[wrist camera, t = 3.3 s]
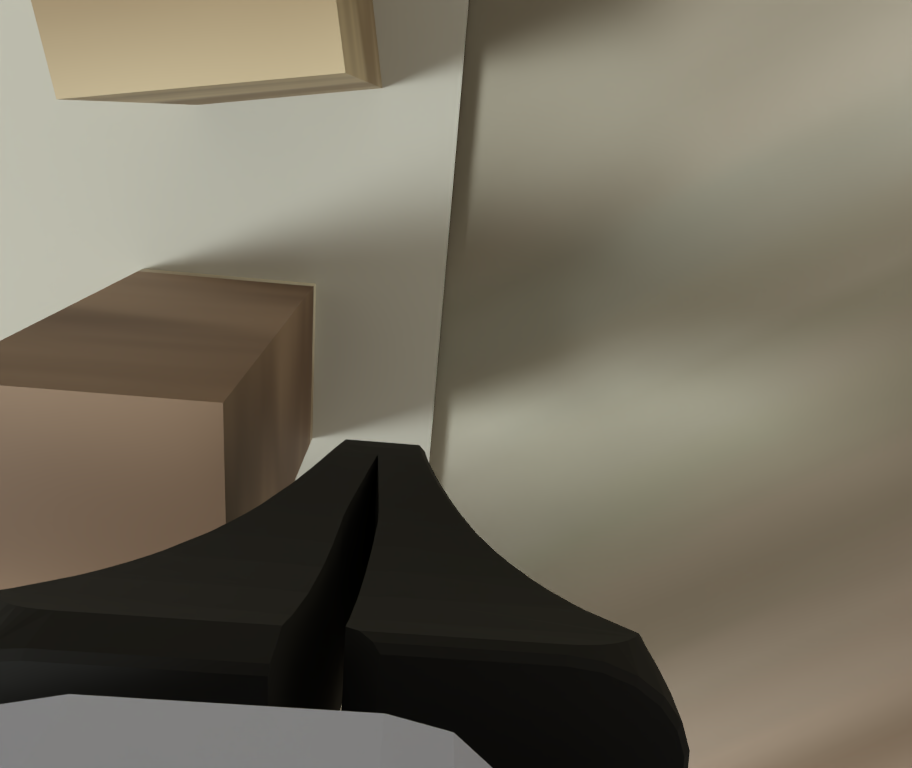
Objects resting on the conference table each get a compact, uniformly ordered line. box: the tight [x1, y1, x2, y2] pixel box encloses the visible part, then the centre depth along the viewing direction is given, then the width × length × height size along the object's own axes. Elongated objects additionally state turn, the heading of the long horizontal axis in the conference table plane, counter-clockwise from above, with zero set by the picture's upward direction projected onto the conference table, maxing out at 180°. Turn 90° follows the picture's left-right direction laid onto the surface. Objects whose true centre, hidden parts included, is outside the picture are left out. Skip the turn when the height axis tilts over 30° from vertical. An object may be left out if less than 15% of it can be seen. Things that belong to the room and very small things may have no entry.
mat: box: [0, 0, 469, 480], centre depth 17 cm, size 18×16×1 cm
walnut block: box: [0, 269, 316, 590], centre depth 14 cm, size 4×4×8 cm
